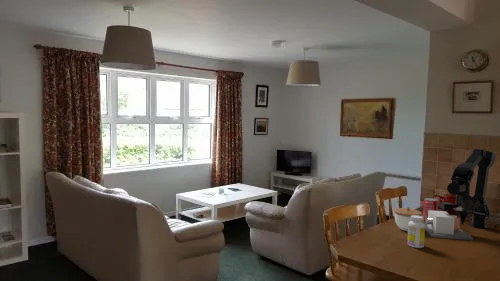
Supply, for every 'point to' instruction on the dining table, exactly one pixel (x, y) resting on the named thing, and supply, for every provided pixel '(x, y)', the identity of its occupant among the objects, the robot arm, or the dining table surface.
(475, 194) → the robot arm
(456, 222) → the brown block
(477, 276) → the dining table surface
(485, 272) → the dining table surface
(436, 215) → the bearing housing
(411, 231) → the supplement bottle
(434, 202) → the soda can
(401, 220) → the lidded bowl
